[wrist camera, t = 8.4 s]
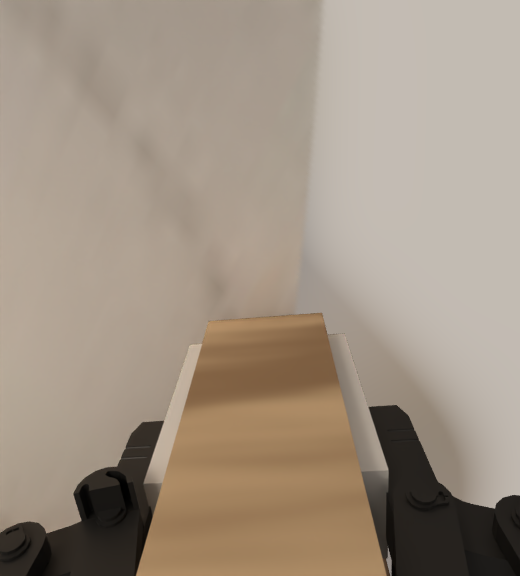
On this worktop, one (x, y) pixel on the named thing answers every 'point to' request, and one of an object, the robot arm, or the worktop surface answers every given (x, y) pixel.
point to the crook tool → (263, 462)
